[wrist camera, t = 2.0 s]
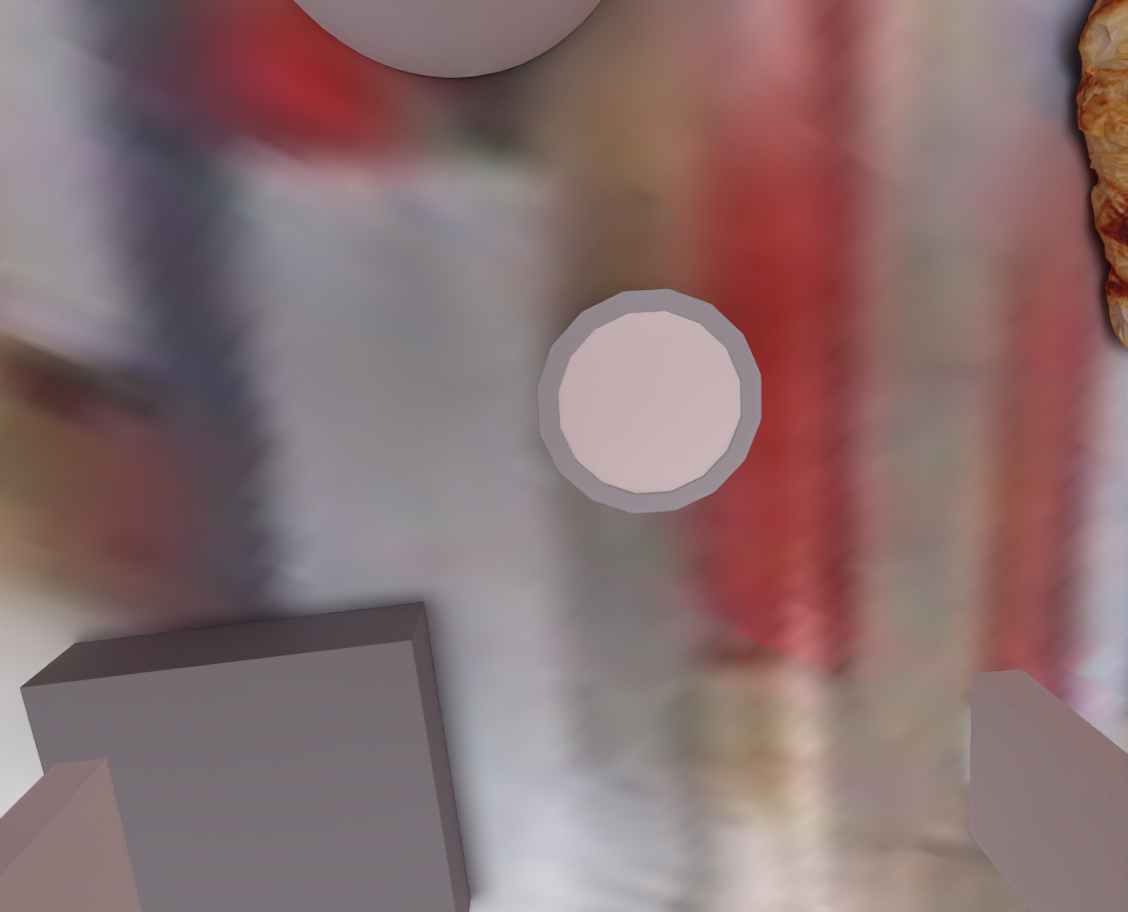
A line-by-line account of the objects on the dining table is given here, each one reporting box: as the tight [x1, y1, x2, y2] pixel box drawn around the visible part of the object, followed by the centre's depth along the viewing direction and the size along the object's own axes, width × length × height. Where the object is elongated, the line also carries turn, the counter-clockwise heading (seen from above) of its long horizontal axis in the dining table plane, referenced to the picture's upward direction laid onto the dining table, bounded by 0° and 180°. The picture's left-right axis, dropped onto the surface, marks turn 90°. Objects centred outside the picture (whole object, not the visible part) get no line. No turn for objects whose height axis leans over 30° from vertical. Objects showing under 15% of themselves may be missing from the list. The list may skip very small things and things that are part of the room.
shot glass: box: [537, 289, 761, 513], centre depth 28 cm, size 7×7×7 cm
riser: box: [20, 602, 470, 912], centre depth 33 cm, size 14×14×4 cm
